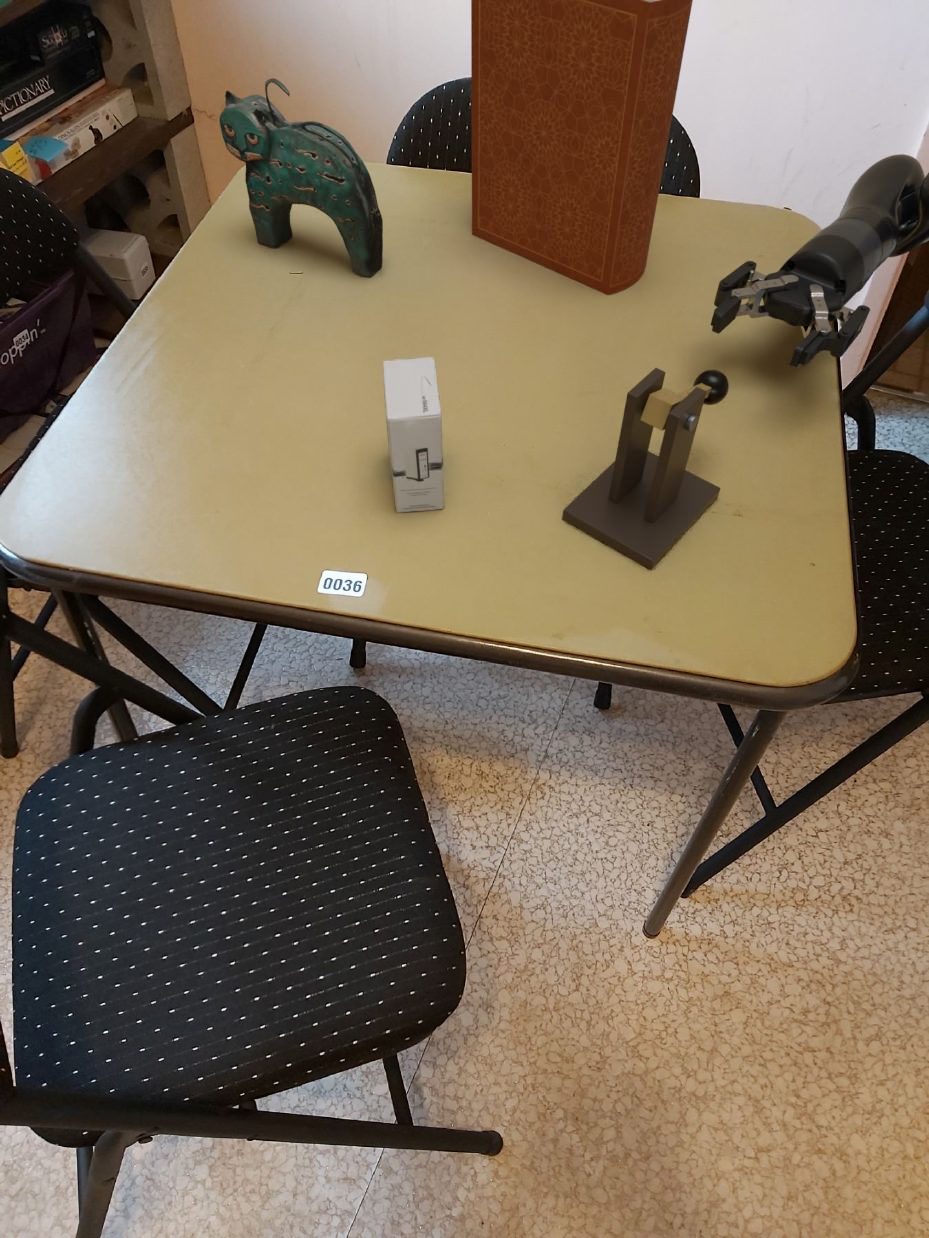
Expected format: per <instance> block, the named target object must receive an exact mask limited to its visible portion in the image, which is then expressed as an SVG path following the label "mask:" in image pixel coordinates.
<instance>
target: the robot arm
mask: <svg viewBox="0 0 929 1238" xmlns="http://www.w3.org/2000/svg"><path fill="white" fill-rule="evenodd" d="M928 241H929V172H927V174H926V175H925V173H924V169H923V167H922V165H921V163H920V161H919V160H917V158H915V157H914V156H911V155H909V154H904V153H900V154H899V153H898V154H892V155H889V156H886V157H883V158H882V159H880V160H878V161H876V162H875V163H873V164H872V165H871V166H870V167H868V168H867V169H866V170H865V171H864V172H863V173H862V174H861V175H860V176H859V178H857V180H856V181H855V183H854V184H853V185H852V187H851V189H850V191H849V193H848V194H847V197H846V200H845V202H844V204H843V206H842V208H841V211H840V213H839V215H838V217H837V218H836V219H834V220H833V222H831V223H830V224H829V225H827V226H825V227H824V228H822V229H821V230H819V231H818V232H817V233H815V235H814V236H812V237H811V238H810V239H809V240H808V241H807V242H806V243H804V244H803V245H802V246H801V247H800V248H799V249H798V250H797V251H796V252H795V253H794V254H793V255H791V256H790V258H788V259H787V260H786V261H785V262H784V263H783V265H781V267H780V268H779V269H778V270H777V271H775V272H771V273H768V274H764V273H762V272H759V271H757V270H756V269H757V262H756V261H753V260H747V261H745V262H744V263H743V264H741V265H740V266H738V267H737V268H736V269H734V270H733V271H731V272H730V273H729V274H727V275H726V276H725V277H724V278H722V279H721V280H720V281H718V286H717V289H716V293H715V297H714V302H713V305H714V307H716V308H715V309H714V310H713V314H712V318H711V321H710V326H712V328H711V332H713V333H715V334H718V335H719V334H721V333H722V332H723V331H724V330H725V329H726V328H727V327H728V326H729V325H730V324H732V322H734V321H735V320H736V318H737V317H742V316H748V317H750V319H756V318H757V319H758V318H765V317H770V318H772V319H775V320H779V321H783V322H784V323H785V324H787V325H789V326H791V327H794V328H797V327H800V329H801V332H802V337H803V339H802V340H801V341H800V342H799V343H798V344H797V345H796V347H795V348H794V350H793V352H792V355H791V358H790V361H789V363H788V365H789V366H790V367H792V368H795V369H797V368H799V366H801V365H802V366H807V365H808V364H810V362H812V360H813V359H814V358H815V357H816V356H817V355H818V354H821V353H823V352H824V351H826V352H829V354H830V355H831V356H832V357H834V358H842V357H843V356H844V354H845V353H846V352H847V351H848V349H849V348H850V347H851V345H852V344H853V343H854V341H855V340H856V339H857V338H858V337H859V335H860V333H862V330H863V328H864V325H865V323H866V322H867V318H868V317H869V314H870V312H871V308H870V307H869V306H867V305H865V304H860V305H858V306H857V307H856V308H855V309H852V308H850V307H847V306H845V305H846V304H847V303H849V302H850V301H851V299H852V298H853V297H854V296H855V295H856V294H857V293H859V292H861V291H862V289H864V287H865V286H866V284H867V283H868V282H869V280H870V279H871V277H872V276H873V274H874V273H875V271H876V270H878V268H879V267H880V266H882V264H883V263H884V262H885V261H886V260H887V259H888V258H896V257H900V256H902V255H904V254H907V253H909V252H911V251H914V250H915V249H916V248H918V247H920V246H921V245H923V244H925V243H927V242H928ZM746 299H747V302H746V303H744V304H743V303H742V301H743V300H746ZM761 301H762V302H763V304H762V305H761ZM837 320H839V322H840V323H839V326H840V329H839V330H838V331H833V330H832V327H831V324H830V323H832V322H835V321H837Z"/></svg>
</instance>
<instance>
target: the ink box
mask: <svg viewBox="0 0 929 1238" xmlns="http://www.w3.org/2000/svg"><path fill="white" fill-rule="evenodd" d="M382 375H383V394H384V396H383V397H384V408H385V409H384V410H385V423H386V435H387V444H388V445H387V446H388V454H389V462H390V463H389V465H390V472H391V480H392V487H393V496H394V497H393V498H394V505H395V506H394V507H395V511H396V512H397V513H410V512H411V513H412V512H424V511H435V510H443V509H444V508H445V491H444V490H445V489H444V487H445V486H444V485H445V484H444V449H443V448H444V447H443V446H444V445H443V424H442V422H443V421H442V419H443V418H442V406H441V401H440V400H441V399H440V393H439V392H440V391H439V386H438V385H439V384H438V377H437V369H436V359H435V358H434V356H432V355H430V356H418V357H403V358H402V357H401V358H395V359H385V360H383V361H382Z"/></svg>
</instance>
